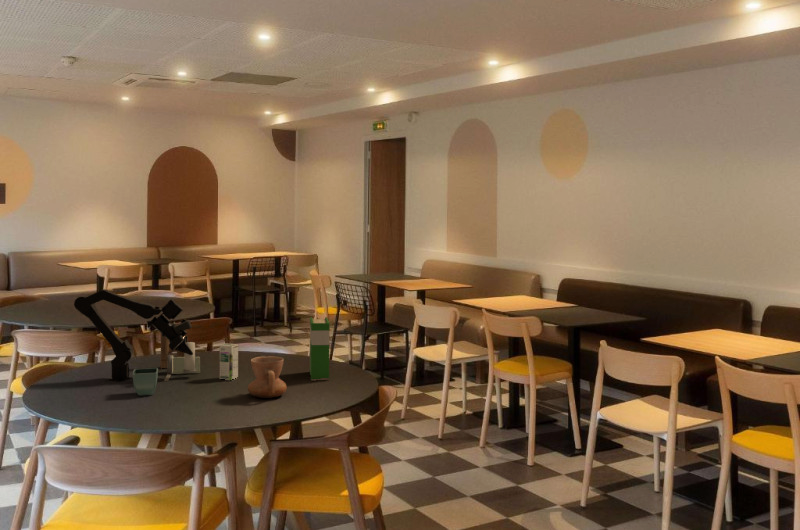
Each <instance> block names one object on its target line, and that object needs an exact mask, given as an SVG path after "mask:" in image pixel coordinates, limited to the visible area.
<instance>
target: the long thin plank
mask: <svg viewBox="0 0 800 530" xmlns="http://www.w3.org/2000/svg"><path fill="white" fill-rule="evenodd" d="M173 357H174V355H172V354H169V355H167V368H166V371H167V372H166V376H165V378H164V380H163V382H169V380H170V379H171V376H172V374H173Z"/></svg>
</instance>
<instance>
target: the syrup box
mask: <svg viewBox="0 0 800 530" xmlns="http://www.w3.org/2000/svg"><path fill="white" fill-rule="evenodd" d="M237 377H238V378H239V344H237V343H236V344H235V343H221V344H219V380H220V379H225V380H224V381H230V380H232V379H234V380H236V379H238V378H237ZM235 378H236V379H235ZM232 381H233V380H232Z"/></svg>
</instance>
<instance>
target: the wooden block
mask: <svg viewBox="0 0 800 530" xmlns="http://www.w3.org/2000/svg"><path fill="white" fill-rule="evenodd" d="M185 336H186V335H185ZM185 336H184V337H185ZM174 349H175V348H174ZM174 349H173V350H171V349H170V348H169V340H168V339H167V338H166V337H165V336H162V334H161V333H160V360H159V363H160V364H159V365H160V366H159V367H160V369H161V370H163V369H162V368H166V369H167V355H170V353H176V357H184V352H181V351H178V350H174Z"/></svg>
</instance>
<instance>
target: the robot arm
mask: <svg viewBox="0 0 800 530" xmlns="http://www.w3.org/2000/svg"><path fill="white" fill-rule="evenodd" d="M100 301H104V302H105V301H106V302H109V303H111V304H112V305H113V304H114V305H115V306H116V305H117V306H119V307H122V308H125V309H127V310H130V311H131V312H133V313H135V314H136V315H138V316H139V317H141V318H143V319H146V320H147V321H146V323H147V328H148V329H149V328H150V327H151V326H153V327H154V328H155V329H156V330H157V331H158V332H159V333H160V335H161V334H162V336H165V337H166V338H167V339H168V340H169V350H170V349H171V350H173V349H174V348H175V349H174V350H178V351H181V352H184V353H186V354H189V355H193V352H192V351H191V349H190V348H189V347H188V345H187V344H186V342H189V340H188V337H189V336H188V332H187V330H189V329H191V328H192V327H193V325H192V323H191V321H190V319H186V318H183V319H181V320H180V323H178V324H175V323H172V322H171V321H170V320H175V319H176V318H177V317H178V316H179V315H180V314H181V313H182V312H183V311H184V307H183V306H181V305H180V303H178V302H176V301H175V300H174V299H172V298H171V299H169V300H168V301H167V303H166V304H165V305H164V306H155V305H154V304H153V303H150V302H145V301H137V300H134V299H131V298H128V297H125V296H123V295H120V294H117V293H115V292H112V291H110V290H108V289H105V288H104V289H101V290H99V291H98V292H94V293H92V294H89V295H87V294H84V295H80V296H78V297H76V298H75V300H74V301H73V302H74V303H73V306H74V308H75V309H76V310H77V312H79V313H80V314H82V315H83V316H84V317H86V318H88V319H89V321H90V322H91V323H92V324H93V325H94V326H95V328H96V329H97V330H98V331H99V332H100V334H101V335H102V336H103V337H104V339H105V340H106V341H107V342H108V343H109V344H110V346H111V348H112V351H113V353H114V355H115V357H113V359H112V360H111V361H110V363H111V377H109V378H108V380H109V381H110V380H111V381H115V380H116V381H117V382H123V381H126V380H129V379H133V376H130V366H129V363H128V362H129V361H130V360H131V359H132V358H133V356H134V353H135V351H134V349H133V347H134V346H133V345H132V344H131V343H130V342H129V340H128V339H125V340H123V339H121V338H120V337H119V336H118V335H117V333H116V332H115V331H114V330H113V328H111V325H109V324H108V323H107V321H106V319H104V317H103V316H102V315H101V314H100V312H99V311H98V309H97V306H96V303H99V302H100ZM159 314H160V315H159ZM157 315H159V316H157ZM151 318H152V319H151ZM149 319H150V320H149ZM184 336H185V337H184Z"/></svg>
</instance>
